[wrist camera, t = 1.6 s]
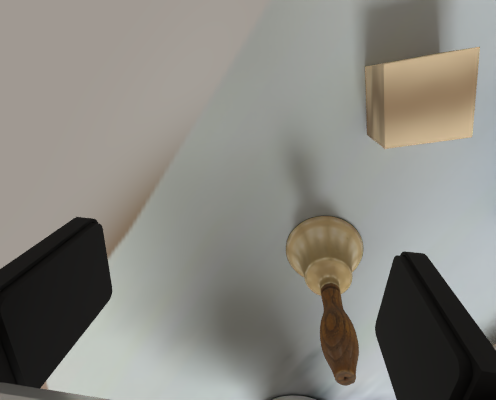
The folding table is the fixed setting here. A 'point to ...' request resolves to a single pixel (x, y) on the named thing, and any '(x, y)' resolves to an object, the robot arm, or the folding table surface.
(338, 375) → the hand bell
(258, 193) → the folding table surface
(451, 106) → the oak cube
